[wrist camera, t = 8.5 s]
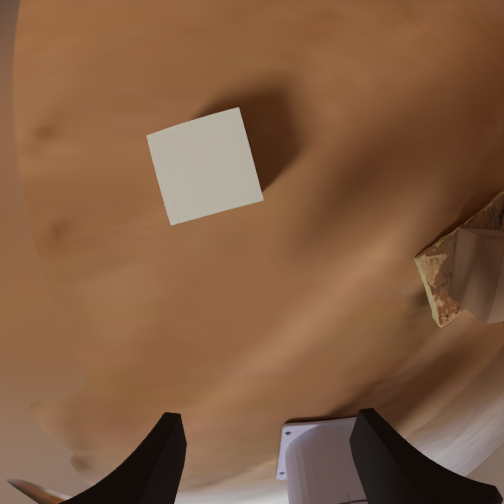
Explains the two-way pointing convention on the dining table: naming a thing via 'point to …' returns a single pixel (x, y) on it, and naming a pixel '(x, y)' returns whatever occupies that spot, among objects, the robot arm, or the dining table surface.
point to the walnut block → (479, 273)
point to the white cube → (204, 166)
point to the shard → (452, 261)
